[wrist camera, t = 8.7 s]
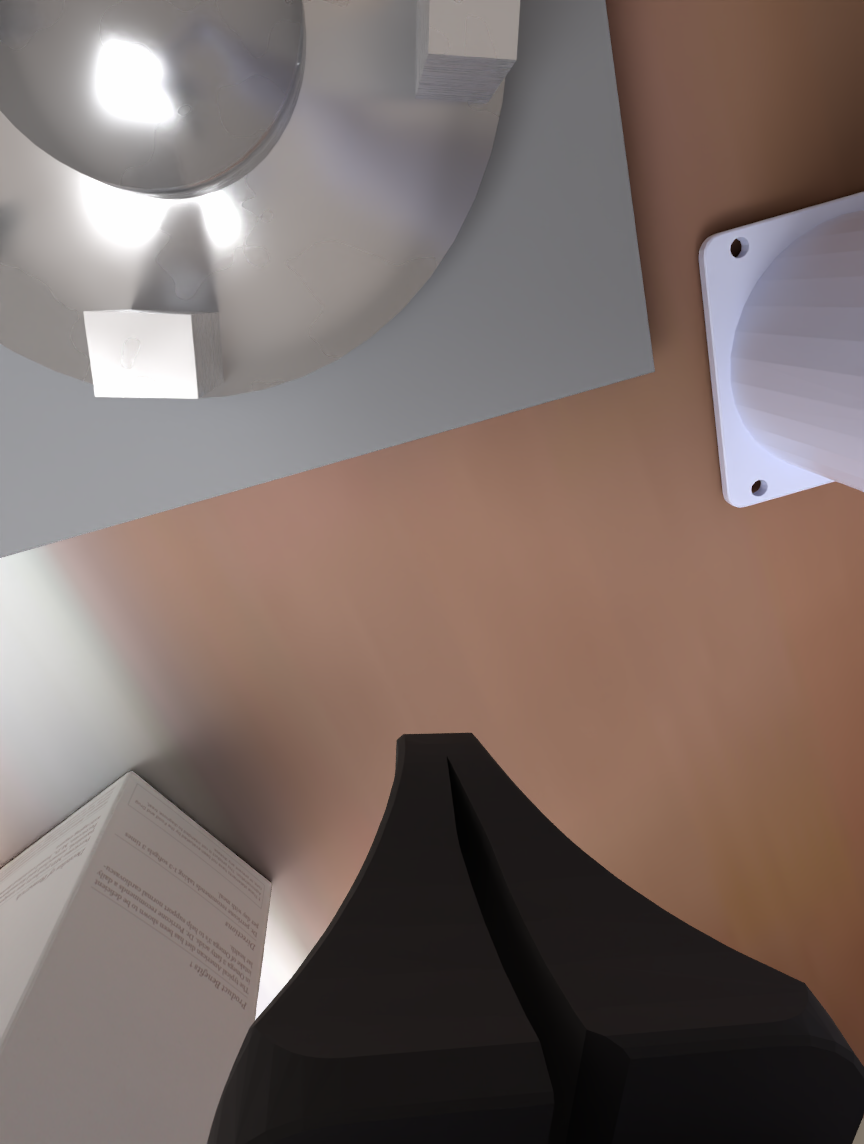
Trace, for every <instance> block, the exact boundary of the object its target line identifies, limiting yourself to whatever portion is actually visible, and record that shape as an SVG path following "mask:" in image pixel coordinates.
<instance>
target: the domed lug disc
mask: <svg viewBox="0 0 864 1144" xmlns="http://www.w3.org/2000/svg"><path fill="white" fill-rule="evenodd" d="M519 14H520V0H0V344H1V345H3V346H5V347H6V348H8V349H10V350H11V351H13V352H15V353H17V354H19V355H21V356H24V357H26V358H28V359H30V360H32V361H34V362H36V363H38V364H41V365H43V366H45V367H47V368H49V369H51V370H53V371H55V372H58V373H61V374H64V375H67V376H70V377H73V378H76V379H79V380H82V381H85V382H88V383H91V384H93V385H94V393H95V397H130V398H182V399H199V398H207V397H225V396H231V395H236V394H242V393H248V392H253V391H259V390H264V389H267V388H270V387H273V386H276V385H279V384H282V383H285V382H289V381H292V380H295V379H298V378H301V377H303V376H305V375H307V374H309V373H311V372H314V371H316V370H318V369H320V368H322V367H324V366H326V365H328V364H330V363H332V362H334V361H336V360H338V359H340V358H341V357H343V356H344V355H346V354H347V353H349V352H350V351H351V350H353V349H354V348H356V347H357V346H359V345H360V344H362V343H363V342H365V341H366V340H368V339H369V338H371V337H372V336H373V335H374V334H376V333H377V332H378V331H379V330H380V329H381V328H382V327H383V326H385V325H386V324H387V323H388V322H389V321H390V320H391V319H392V318H393V317H395V316H396V315H397V314H398V313H399V312H400V311H401V310H402V309H403V308H404V307H405V306H406V305H407V304H408V303H409V301H410V300H411V299H412V298H413V297H414V296H415V294H416V293H417V292H418V291H419V290H420V289H421V287H422V286H423V285H424V284H425V283H426V282H427V280H428V279H429V278H430V277H431V275H432V274H433V272H434V271H435V269H436V268H437V266H438V265H439V263H440V262H441V260H442V259H443V257H444V256H445V254H446V253H447V251H448V249H449V248H450V246H451V245H452V243H453V242H454V240H455V238H456V236H457V234H458V232H459V230H460V228H461V226H462V224H463V222H464V220H465V218H466V216H467V214H468V212H469V210H470V208H471V206H472V204H473V202H474V200H475V197H476V195H477V192H478V189H479V186H480V183H481V180H482V178H483V175H484V172H485V169H486V166H487V163H488V160H489V158H490V155H491V151H492V147H493V143H494V138H495V134H496V129H497V125H498V121H499V116H500V112H501V107H502V103H503V94H504V85H505V76H506V75H507V73H508V72H509V70H510V69H511V67H512V66H513V64H514V63H515V61H516V60H517V45H518V29H519Z"/></svg>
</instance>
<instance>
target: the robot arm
mask: <svg viewBox="0 0 864 1144" xmlns="http://www.w3.org/2000/svg"><path fill="white" fill-rule="evenodd" d="M736 238H737V239H738V240H739V241H740V242H741V245H742V248H741V252H740V254H739V255H738V256H737V257H736V258H735V257H734V256H732V254H731V251H730V248H731V244H732V242H733V241H734V240H735V239H736ZM699 267H700V277H701V286H702V296H703V306H704V315H705V325H706V335H707V344H708V354H709V364H710V373H711V383H712V393H713V402H714V412H715V422H716V431H717V441H718V451H719V460H720V470H721V479H722V489H723V496H724V499H725V500H726V501H727V502H728V503H729V504H731V505H733V506H735V507H738V508H739V507H746V506H750V505H753V504H757V503H760V502H764V501H767V500H771V499H774V498H778V497H782V496H785V495H789V494H792V493H796V492H799V491H803V490H806V489H810V488H813V487H817V486H820V485H824V484H827V483H831V482H834V481H836V482H839V483H842V484H844V485H847V486H850V487H852V488H855V489H858V490H860V491H863V492H864V192H860V193H856V194H853V195H849V196H846V197H842V198H839V199H835V200H832V201H828V202H825V203H821V204H818V205H814V206H811V207H807V208H804V209H800V210H797V211H793V212H790V213H786V214H783V215H779V216H776V217H772V218H769V219H765V220H762V221H758V222H755V223H751V224H748V225H744V226H741V227H737V228H734V229H730V230H727V231H723V232H720V233H716V234H713V235H711V236H709V237H708V238H707V239H706V240H705V241H704V242H703V243H702V245H701V248H700V250H699ZM758 480H760V481H761V485H760V488H759V489H758V491H756V492H754V493H752V491H751V489H752V485H753V484H754V483H755V482H756V481H758ZM863 1114H864V1067H863V1065H862V1064H861V1062H860V1061H859V1059H858V1058H857V1057H856V1055H855V1054H854V1052H853V1051H852V1049H851V1048H850V1046H849V1044H848V1043H847V1041H846V1040H845V1038H844V1037H843V1035H842V1034H841V1032H840V1031H839V1029H838V1028H837V1026H836V1025H835V1023H834V1022H833V1020H832V1019H831V1017H830V1016H829V1014H828V1013H827V1012H826V1010H825V1009H824V1008H823V1006H822V1005H821V1004H820V1003H819V1001H818V1000H817V999H816V997H815V996H814V995H813V993H812V992H811V991H810V990H809V988H808V987H807V986H806V984H805V983H803V982H801V981H799V980H797V979H794V978H792V977H790V976H788V975H786V974H784V973H782V972H780V971H778V970H776V969H773V968H771V967H769V966H767V965H765V964H763V963H761V962H759V961H757V960H754V959H752V958H750V957H748V956H746V955H744V954H742V953H740V952H738V951H736V950H734V949H732V948H730V947H728V946H726V945H724V944H722V943H721V942H719V941H717V940H715V939H713V938H712V937H710V936H708V935H706V934H704V933H703V932H701V931H699V930H697V929H695V928H694V927H692V926H690V925H688V924H687V923H685V922H683V921H682V920H680V919H678V918H677V917H675V916H673V915H672V914H670V913H669V912H667V911H665V910H664V909H662V908H661V907H659V906H658V905H656V904H655V903H653V902H652V901H650V900H649V899H647V898H646V897H644V896H643V895H641V894H640V893H638V892H637V891H635V890H634V889H632V888H631V887H629V886H628V885H627V884H625V883H624V882H622V881H621V880H620V879H618V878H617V877H615V876H614V875H613V874H611V873H610V872H609V871H608V870H606V869H605V868H604V867H603V866H601V865H600V864H599V863H598V862H596V861H595V860H594V859H593V858H591V857H590V856H589V855H587V854H586V853H585V852H584V851H582V850H581V849H580V848H579V847H578V846H577V845H575V844H574V843H573V842H572V841H571V840H570V839H569V838H567V837H566V836H565V835H564V834H563V833H562V832H561V831H560V830H559V829H558V828H557V827H556V826H555V825H554V824H553V823H552V822H551V821H550V820H549V819H548V818H547V817H546V816H545V815H544V814H543V813H542V812H541V811H540V810H539V809H538V808H537V807H536V806H535V805H534V804H533V803H532V802H531V801H530V800H529V799H528V798H527V797H526V795H525V794H524V793H523V792H522V791H521V790H520V789H519V788H518V787H517V786H516V785H515V784H514V782H513V781H512V780H511V779H510V778H509V777H508V776H507V774H506V773H505V772H504V771H503V770H502V768H501V767H500V766H499V765H498V764H497V763H496V761H495V760H494V759H493V758H492V757H491V755H490V754H489V753H488V752H487V750H486V749H485V748H484V747H483V745H482V744H481V743H480V742H479V741H478V739H477V738H476V737H475V736H474V735H473V734H472V733H442V734H403V735H402V736H401V737H400V738H399V739H398V740H397V746H396V770H395V778H394V782H393V786H392V789H391V793H390V796H389V800H388V803H387V807H386V810H385V813H384V816H383V818H382V821H381V823H380V826H379V829H378V831H377V834H376V836H375V839H374V841H373V844H372V846H371V849H370V851H369V853H368V855H367V857H366V860H365V862H364V864H363V866H362V868H361V870H360V872H359V874H358V876H357V878H356V880H355V882H354V884H353V885H352V887H351V889H350V891H349V893H348V894H347V896H346V898H345V899H344V901H343V903H342V905H341V906H340V908H339V910H338V912H337V913H336V915H335V917H334V918H333V920H332V921H331V923H330V925H329V926H328V928H327V929H326V931H325V932H324V934H323V935H322V936H321V938H320V939H319V941H318V942H317V943H316V945H315V946H314V948H313V949H312V950H311V952H310V953H309V955H308V956H307V958H306V959H305V960H304V962H303V963H302V965H301V966H300V967H299V969H298V970H297V971H296V973H295V974H294V975H293V977H292V978H291V979H290V980H289V982H288V983H287V984H286V985H285V986H284V988H283V989H282V990H281V991H280V992H279V993H278V995H277V996H276V997H275V998H274V999H273V1000H272V1002H271V1003H270V1004H269V1005H268V1006H267V1008H266V1009H265V1010H264V1011H263V1012H262V1013H261V1015H260V1016H259V1017H258V1018H257V1019H256V1020H255V1022H254V1023H253V1024H252V1025H251V1026H250V1028H249V1030H248V1032H247V1034H246V1037H245V1039H244V1041H243V1043H242V1046H241V1048H240V1050H239V1053H238V1055H237V1057H236V1060H235V1062H234V1064H233V1067H232V1069H231V1072H230V1074H229V1077H228V1079H227V1082H226V1084H225V1087H224V1089H223V1092H222V1095H221V1098H220V1101H219V1104H218V1106H217V1109H216V1112H215V1116H214V1119H213V1122H212V1126H211V1129H210V1133H209V1137H208V1141H207V1144H852V1143H853V1140H854V1137H855V1135H856V1132H857V1130H858V1128H859V1125H860V1123H861V1120H862V1118H863Z"/></svg>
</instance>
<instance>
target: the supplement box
mask: <svg viewBox="0 0 864 1144" xmlns="http://www.w3.org/2000/svg"><path fill="white" fill-rule="evenodd" d="M271 889H272V884H271V882H269V881H268V880H267V879H266V878H265V877H263V876H262V875H261V874H259V873H258V872H257V871H256V870H254V869H253V868H252V867H251V866H249V865H248V864H247V863H246V862H244V861H243V860H242V859H241V858H239V857H238V856H237V855H236V854H234V853H233V852H232V851H231V850H229V849H228V848H227V847H226V846H224V845H223V844H222V843H221V842H219V841H218V840H217V839H216V838H215V837H213V836H212V835H211V834H210V833H208V832H207V831H206V830H205V829H203V828H202V827H201V826H200V825H198V824H197V823H196V822H195V821H193V820H192V819H191V818H190V817H188V816H187V815H186V814H185V813H184V812H182V811H181V810H180V809H179V808H177V807H176V806H175V805H174V804H173V803H171V802H170V801H169V800H168V799H166V798H165V797H164V796H163V795H161V794H160V793H159V792H158V791H156V790H155V789H154V788H153V787H152V786H150V785H149V784H148V783H147V782H145V781H144V780H143V779H142V778H141V777H140V776H138V775H137V774H136V773H134V772H133V771H129V772H128V773H126V774H125V775H124V776H122V777H121V778H120V779H118V780H117V781H116V782H114V783H113V784H112V785H110V786H109V787H108V788H106V789H105V790H104V791H102V792H101V793H100V794H98V795H97V796H96V797H94V798H93V799H92V800H91V801H89V802H88V803H87V804H85V805H84V806H83V807H81V808H80V809H79V810H77V811H76V812H74V813H73V814H72V815H71V816H69V817H68V818H67V819H66V820H64V821H63V822H62V823H60V824H59V825H58V826H56V827H55V828H53V829H52V830H51V831H50V832H48V833H47V834H46V835H44V836H43V837H42V838H40V839H39V840H38V841H37V842H35V843H34V844H33V845H31V846H30V847H29V848H27V849H26V850H25V851H23V852H22V853H21V854H20V855H18V856H17V857H16V858H15V859H13V860H12V861H10V862H9V863H8V864H6V865H5V866H4V867H3V868H1V869H0V1144H207V1141H208V1137H209V1133H210V1129H211V1126H212V1122H213V1119H214V1116H215V1112H216V1109H217V1106H218V1104H219V1101H220V1098H221V1095H222V1092H223V1089H224V1087H225V1084H226V1082H227V1079H228V1077H229V1074H230V1072H231V1069H232V1067H233V1064H234V1062H235V1060H236V1057H237V1055H238V1053H239V1050H240V1048H241V1046H242V1043H243V1041H244V1039H245V1037H246V1034H247V1032H248V1030H249V1028H250V1026H251V1025H252V1024H253V1023H254V1022H255V1015H256V1005H257V998H258V991H259V983H260V976H261V968H262V961H263V953H264V944H265V936H266V928H267V921H268V913H269V905H270V897H271Z"/></svg>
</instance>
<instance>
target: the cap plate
mask: <svg viewBox="0 0 864 1144" xmlns="http://www.w3.org/2000/svg"><path fill="white" fill-rule="evenodd" d="M651 372H655V369H654V361H653V354H652V346H651V339H650V331H649V324H648V316H647V309H646V301H645V294H644V286H643V279H642V271H641V264H640V257H639V249H638V242H637V234H636V227H635V219H634V212H633V204H632V197H631V189H630V182H629V174H628V167H627V159H626V152H625V144H624V137H623V129H622V122H621V114H620V107H619V99H618V92H617V84H616V77H615V69H614V62H613V54H612V47H611V39H610V32H609V24H608V17H607V10H606V2H605V0H520V14H519V29H518V45H517V60H516V61H515V63H514V64H513V66H512V67H511V69H510V70H509V72H508V73H507V75H506V76H505V85H504V94H503V103H502V107H501V112H500V116H499V121H498V125H497V129H496V134H495V138H494V143H493V147H492V151H491V155H490V158H489V160H488V163H487V166H486V169H485V172H484V175H483V178H482V180H481V183H480V186H479V189H478V192H477V195H476V197H475V200H474V202H473V204H472V206H471V208H470V210H469V212H468V214H467V216H466V218H465V220H464V222H463V224H462V226H461V228H460V230H459V232H458V234H457V236H456V238H455V240H454V242H453V243H452V245H451V246H450V248H449V249H448V251H447V253H446V254H445V256H444V257H443V259H442V260H441V262H440V263H439V265H438V266H437V268H436V269H435V271H434V272H433V274H432V275H431V277H430V278H429V279H428V280H427V282H426V283H425V284H424V285H423V286H422V287H421V289H420V290H419V291H418V292H417V293H416V294H415V296H414V297H413V298H412V299H411V300H410V301H409V303H408V304H407V305H406V306H405V307H404V308H403V309H402V310H401V311H400V312H399V313H398V314H397V315H396V316H395V317H393V318H392V319H391V320H390V321H389V322H388V323H387V324H386V325H385V326H383V327H382V328H381V329H380V330H379V331H378V332H377V333H376V334H374V335H373V336H372V337H371V338H369V339H368V340H366V341H365V342H363V343H362V344H360V345H359V346H357V347H356V348H354V349H353V350H351V351H350V352H349V353H347V354H346V355H344V356H343V357H341V358H340V359H338V360H336V361H334V362H332V363H330V364H328V365H326V366H324V367H322V368H320V369H318V370H316V371H314V372H311V373H309V374H307V375H305V376H303V377H301V378H298V379H295V380H292V381H289V382H285V383H282V384H279V385H276V386H273V387H270V388H267V389H264V390H259V391H253V392H248V393H242V394H236V395H231V396H225V397H207V398H199V399H182V398H130V397H95V393H94V385H93V384H91V383H88V382H85V381H82V380H79V379H76V378H73V377H70V376H67V375H64V374H61V373H58V372H55V371H53V370H51V369H49V368H47V367H45V366H43V365H41V364H38V363H36V362H34V361H32V360H30V359H28V358H26V357H24V356H21V355H19V354H17V353H15V352H13V351H11V350H10V349H8V348H6V347H5V346H3V345H1V344H0V558H2V557H5V556H9V555H12V554H16V553H19V552H23V551H26V550H30V549H33V548H37V547H40V546H44V545H47V544H51V543H54V542H58V541H61V540H65V539H68V538H72V537H75V536H79V535H82V534H86V533H89V532H93V531H97V530H100V529H104V528H107V527H111V526H114V525H118V524H121V523H125V522H128V521H132V520H135V519H139V518H142V517H146V516H149V515H153V514H156V513H160V512H163V511H167V510H170V509H174V508H177V507H181V506H184V505H188V504H191V503H195V502H198V501H202V500H205V499H209V498H212V497H216V496H219V495H223V494H226V493H230V492H233V491H237V490H241V489H244V488H248V487H251V486H255V485H258V484H262V483H265V482H269V481H272V480H276V479H279V478H283V477H286V476H290V475H293V474H297V473H300V472H304V471H307V470H311V469H314V468H318V467H321V466H325V465H328V464H332V463H335V462H339V461H342V460H346V459H349V458H353V457H356V456H360V455H363V454H367V453H370V452H374V451H378V450H381V449H385V448H388V447H392V446H395V445H399V444H402V443H406V442H409V441H413V440H416V439H420V438H423V437H427V436H430V435H434V434H437V433H441V432H444V431H448V430H451V429H455V428H458V427H462V426H465V425H469V424H472V423H476V422H479V421H483V420H486V419H490V418H493V417H497V416H500V415H504V414H507V413H511V412H514V411H518V410H522V409H525V408H529V407H532V406H536V405H539V404H543V403H546V402H550V401H553V400H557V399H560V398H564V397H567V396H571V395H574V394H578V393H581V392H585V391H588V390H592V389H595V388H599V387H602V386H606V385H609V384H613V383H616V382H620V381H623V380H627V379H630V378H634V377H637V376H641V375H644V374H648V373H651Z"/></svg>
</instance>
